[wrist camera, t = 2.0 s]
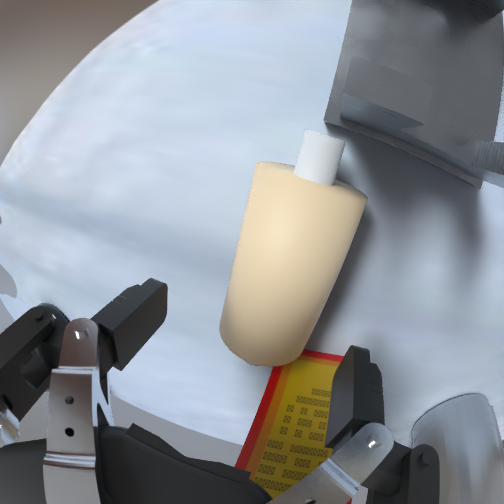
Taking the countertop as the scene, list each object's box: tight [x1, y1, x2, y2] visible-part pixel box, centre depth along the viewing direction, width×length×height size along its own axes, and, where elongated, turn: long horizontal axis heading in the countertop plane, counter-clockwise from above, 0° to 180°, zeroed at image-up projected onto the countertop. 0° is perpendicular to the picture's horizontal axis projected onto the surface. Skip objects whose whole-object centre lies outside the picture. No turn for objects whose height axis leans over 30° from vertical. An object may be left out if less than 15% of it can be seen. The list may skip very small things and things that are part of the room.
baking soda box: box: [235, 349, 352, 504], centre depth 15 cm, size 10×6×16 cm
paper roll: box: [219, 129, 368, 366], centre depth 15 cm, size 14×6×6 cm, turn 167°
